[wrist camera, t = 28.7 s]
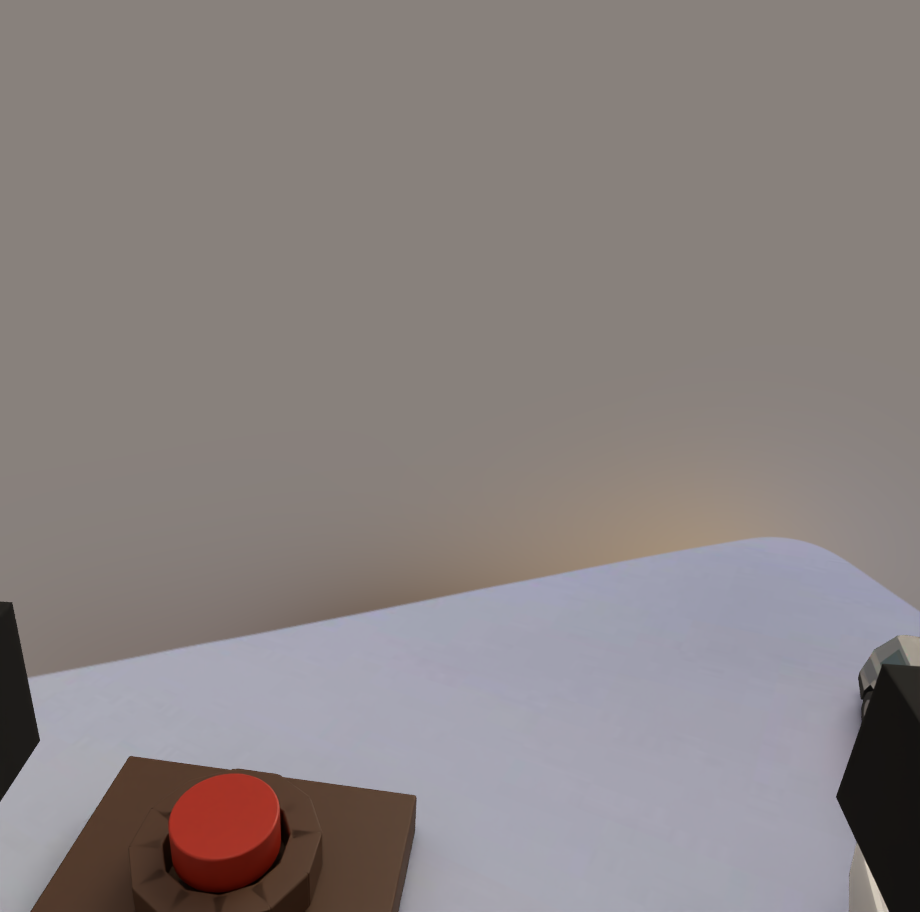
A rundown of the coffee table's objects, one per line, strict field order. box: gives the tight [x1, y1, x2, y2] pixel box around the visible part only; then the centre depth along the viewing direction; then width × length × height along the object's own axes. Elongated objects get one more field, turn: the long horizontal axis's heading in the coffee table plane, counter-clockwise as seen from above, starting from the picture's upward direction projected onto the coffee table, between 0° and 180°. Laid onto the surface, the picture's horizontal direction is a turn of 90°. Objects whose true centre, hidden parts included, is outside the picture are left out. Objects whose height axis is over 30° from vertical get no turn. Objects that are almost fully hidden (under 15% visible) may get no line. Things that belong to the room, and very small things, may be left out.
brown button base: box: [31, 756, 416, 912], centre depth 33 cm, size 13×10×4 cm
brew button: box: [168, 774, 281, 893], centre depth 32 cm, size 4×4×2 cm
